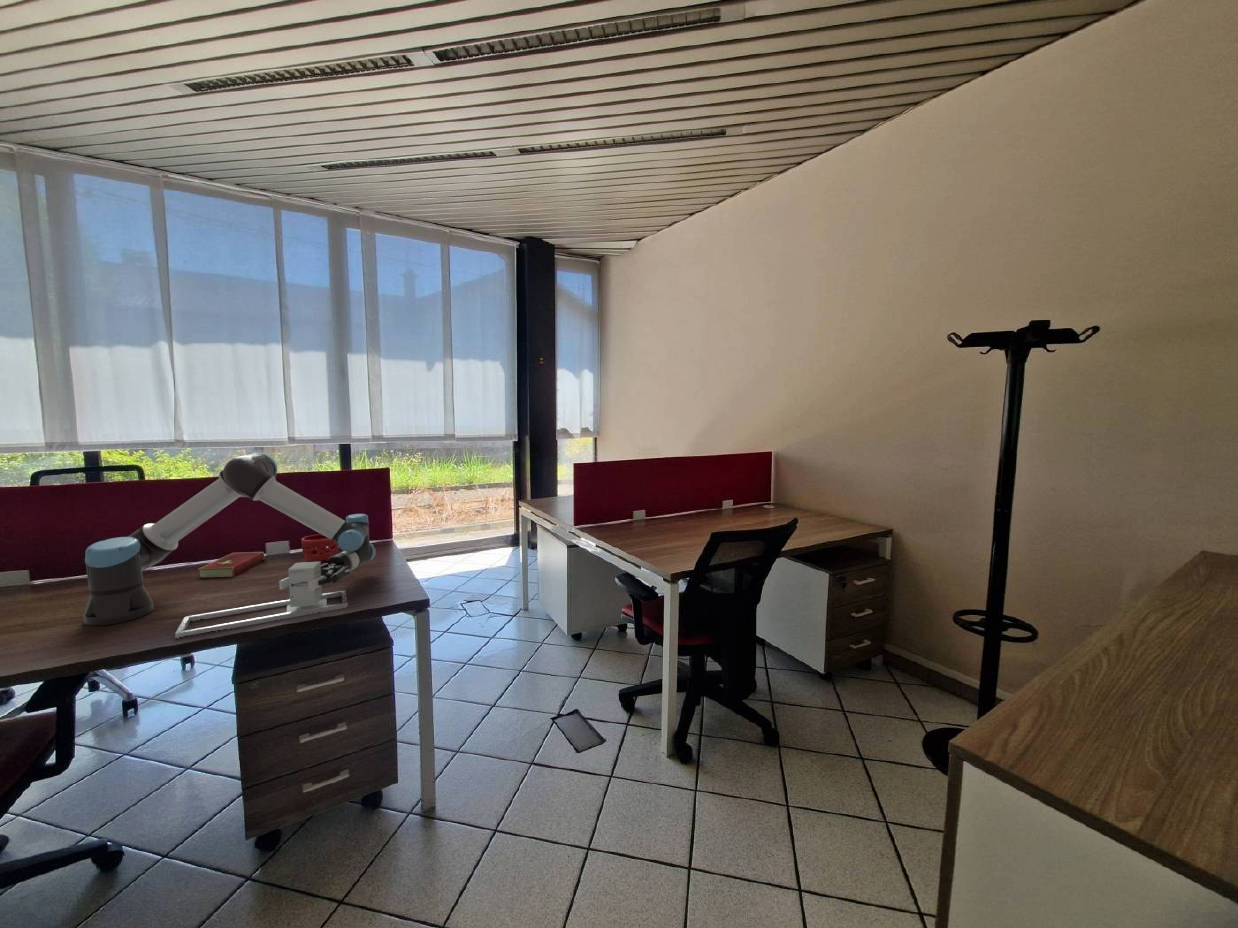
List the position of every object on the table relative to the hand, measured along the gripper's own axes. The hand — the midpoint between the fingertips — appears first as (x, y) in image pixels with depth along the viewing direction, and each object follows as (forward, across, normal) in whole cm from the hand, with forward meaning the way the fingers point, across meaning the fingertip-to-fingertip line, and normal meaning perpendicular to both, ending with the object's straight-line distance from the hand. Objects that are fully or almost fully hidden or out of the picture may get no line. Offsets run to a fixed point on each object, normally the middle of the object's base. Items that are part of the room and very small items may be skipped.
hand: (294, 585), depth 154 cm
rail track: (+2, +8, -9) cm, 12 cm away
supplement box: (-4, 0, -7) cm, 9 cm away
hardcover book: (-36, +57, -10) cm, 68 cm away
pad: (-4, 0, -9) cm, 10 cm away
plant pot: (-45, +26, -9) cm, 53 cm away
